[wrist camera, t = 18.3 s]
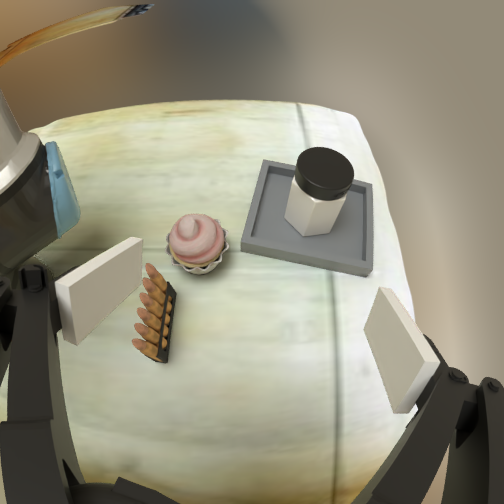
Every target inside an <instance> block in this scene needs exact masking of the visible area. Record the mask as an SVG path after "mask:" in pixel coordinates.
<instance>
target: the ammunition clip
mask: <svg viewBox="0 0 504 504" xmlns="http://www.w3.org/2000/svg"><path fill="white" fill-rule="evenodd" d="M145 267H146V271H147V274H148V275H149V277H150V279H148V278H143V285H144V287H145V289H146V290H147V292H148V295H147V294H146V293H140V299H141V301H142V303H143V304H144V306H145V307H146V309H147V310H146V309H143V308H138V309H137V313H138V315H139V317H140V318H141V319H142V320H143V321H144V323H145V324H146V325H147V326H148V327H147V326H145V325H143V324H141V323H136V324H135V325H134V327H135V329H136V331H137V332H138V333H139V334H140V335H141V336H142V337H143V338H144V339H145V340H146V341H144V340H141V339H133V340H132V343H133V345H134V346H135V347H136V348H137V349H138V350H140V351H141V352H142V353H143V354H144V355H145V356H147V357H148V358H150V359H152V360H153V361H155V362H161V363H167V362H168V353H169V345H170V336H171V328H172V321H173V313H174V306H175V299H176V292H175V290H174V289H173V287H172V286H171V285H170V283H169V282H167V283H166V281H165V280H164V278H163V276H162V275H161V274H160V273H159V272H158V271H157V270H156V268H155V267H154V266H153V265H151V264H149V263H146V266H145Z"/></svg>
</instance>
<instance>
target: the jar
mask: <svg viewBox="0 0 504 504" xmlns="http://www.w3.org/2000/svg"><path fill="white" fill-rule="evenodd" d="M353 179H354V170H353V167H352V165H351V163H350V162H349V160H348V159H347V158H346V157H345V156H343V155H342V154H340V153H339V152H337V151H335V150H332V149H329V148H324V147H313V148H309V149H307V150H305V151H303V152H302V153H301V154H300V155H299V157H298V159H297V164H296V168H295V175H294V178H293V180H292V184H291V188H290V193H289V198H288V202H287V207H286V211H285V216H284V218H285V219H286V220H287V221H288V222H289V223H290V224H291V225H292V226H293V227H294V228H295V229H296V230H297V231H298V232H299V233H300V234H301V235H302V236H304V237H305V236H312V235H320V234H328V233H330V231H331V229H332V227H333V225H334V223H335V221H336V219H337V216H338V214H339V212H340V210H341V208H342V206H343V204H344V202H345V200H346V195H347V192H348V190H349V189H350V187H351V185H352V182H353Z"/></svg>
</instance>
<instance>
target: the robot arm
mask: <svg viewBox="0 0 504 504" xmlns="http://www.w3.org/2000/svg"><path fill="white" fill-rule="evenodd" d="M79 218H80V207H79V204H78V201H77V197H76V194H75V191H74V188H73V186H72V183H71V180H70V177H69V174H68V171H67V168H66V166H65V163H64V160H63V157H62V155H61V152H60V150H59V147H58V146H57V143H56V142H54V141H52V142H48V143H46V145H45V146H44V145H43V144H42V142H41V140H40V138H39V137H38V135H37V134H35V133H29V132H22V131H21V130H20V128H19V126H18V124H17V122H16V120H15V118H14V116H13V114H12V112H11V111H10V108H9V106H8V104H7V102H6V100H5V98H4V96H3V93H2V91H1V89H0V386H1V383H2V381H3V378H4V375H5V372H6V370H7V367H8V364H9V376H8V399H7V421H2V422H1V423H0V456H1V467H2V476H3V483H4V490H5V496H6V501H7V504H179V503H177V502H176V501H174V500H172V499H170V498H168V497H166V496H164V495H163V494H161V493H159V492H157V491H156V490H153V489H150V488H147V487H144V486H141V485H139V484H136V483H133V482H131V481H128V480H126V479H123V478H121V477H118V479H117V481H116V483H115V484H110V483H86V482H85V480H84V478H83V475H82V473H81V470H80V467H79V464H78V461H77V457H76V453H75V449H74V445H73V441H72V437H71V432H70V427H69V423H68V417H67V412H66V406H65V400H64V394H63V387H62V379H61V371H60V361H59V349H58V338H57V332H58V331H59V330H60V329H61V328H62V333H63V338H64V340H66V341H68V342H70V343H72V344H75V345H78V344H79V343H80V342H81V341H82V340H83V339H84V338H85V337H86V336H87V335H88V334H89V333H90V332H91V331H92V330H93V329H94V328H95V327H96V326H97V325H99V324H100V323H101V322H102V321H103V320H104V319H105V318H106V317H107V316H108V315H109V314H110V313H111V312H112V311H113V310H114V309H115V308H116V307H117V306H118V305H119V304H120V303H121V302H122V301H124V300H125V299H126V298H127V297H128V296H129V295H130V294H131V293H132V292H133V291H134V290H135V289H136V288H137V287H138V286H140V285H141V276H142V249H143V239H141V238H136V237H130V238H128V239H126V240H124V241H122V242H121V243H119V244H117V245H115V246H114V247H112V248H110V249H108V250H107V251H105V252H103V253H101V254H100V255H98V256H96V257H95V258H93V259H91V260H90V261H88V262H86V263H85V264H83V265H80V266H77V267H73V268H72V269H70V270H68V271H67V273H66V272H65V273H64V274H62V275H61V276H59V277H57V278H55V279H54V280H53V277H52V274H51V272H50V270H49V269H48V268H47V267H46V266H45V265H44V264H43V263H42V262H41V261H40V260H38V259H37V258H35V257H32V256H33V255H35V254H36V253H37V252H39V251H40V250H42V249H43V248H45V247H46V246H47V245H49V244H50V243H52V242H53V241H55V240H56V239H60V238H61V236H62V235H63V234H64V233H65V232H67V231H68V230H69V229H71V228H72V227H74V226H75V225H76V224H77V223H78V221H79ZM364 332H365V335H366V337H367V340H368V342H369V345H370V348H371V350H372V353H373V356H374V358H375V361H376V364H377V367H378V369H379V372H380V375H381V378H382V381H383V384H384V386H385V389H386V392H387V395H388V398H389V401H390V404H391V407H392V410H393V413H409V412H410V411H411V409H412V408H413V406H414V405H415V403H416V405H417V407H418V411H417V412H416V414H415V415H414V417H413V418H412V419H411V421H410V422H409V423H408V425H407V426H406V430H405V432H404V433H403V435H402V436H401V438H400V439H399V441H398V442H397V444H396V445H395V447H394V448H393V450H392V451H391V453H390V454H389V456H388V457H387V459H386V460H385V461H384V463H383V464H382V466H381V467H380V468H379V470H378V471H377V472H376V474H375V475H374V476H373V477H372V479H371V480H370V481H369V483H368V484H367V485H366V486H365V488H364V489H363V490H362V491H361V492H360V494H359V495H358V496H357V497H356V498H355V500H354V501H353V502H352V503H351V504H421V502H422V501H423V499H424V497H425V495H426V493H427V491H428V489H429V487H430V485H431V483H432V481H433V479H434V477H435V475H436V473H437V471H438V469H439V467H440V464H441V462H442V460H443V457H444V455H445V453H446V450H447V448H448V445H449V443H450V446H449V456H448V465H447V473H446V479H445V485H444V491H443V497H442V502H441V504H504V388H503V386H502V385H501V383H500V382H499V381H498V380H496V379H493V378H490V377H485V378H484V379H483V380H482V382H481V383H480V385H479V386H477V385H473V384H470V383H469V380H468V378H467V376H466V375H465V374H464V373H463V372H462V371H460V370H458V369H456V368H452V367H448V365H447V363H446V362H445V360H444V359H443V357H442V356H441V354H440V353H439V351H438V349H437V348H436V347H435V345H434V343H433V342H432V341H431V339H429V338H428V337H427V336H426V335H424V334H422V333H421V331H420V330H419V328H418V327H417V325H416V324H415V322H414V321H413V319H412V318H411V316H410V315H409V313H408V312H407V310H406V309H405V307H404V306H403V305H402V303H401V302H400V300H399V299H398V298H397V296H396V295H395V293H394V292H393V291H392V289H389V288H384V287H379V289H378V292H377V295H376V298H375V301H374V303H373V306H372V309H371V311H370V314H369V317H368V319H367V322H366V325H365V327H364ZM9 362H10V363H9Z"/></svg>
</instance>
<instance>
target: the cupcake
mask: <svg viewBox="0 0 504 504" xmlns="http://www.w3.org/2000/svg"><path fill="white" fill-rule="evenodd" d="M227 235H228V231H227V230H225V229H223V228H221V225H220V221H219V220H217V219H212V218H211V217H208V216H206V215H205V214H204V215H202V214H188V215H185V216H183V217H181V218H180V219H179V220H178V221H177V222H176V223H175V224H174V226H173V228H172V230H171V232H170V233H169V234H168V235H167V236H166V240H167V242H168V245H167V247H166V249H165V252H166V253H167V254H168V255H170V256H171V259H172V265H175V266H181V267H183V268H184V269H185V270H186V271H188V272H190V273H192V274H199V275H201V274H206V273H208V272H210V271H212V270H213V269H214V268H215V267H216V266H217V265H218V264H219V262H221V260H222V254H223V253H224V252H225V251H226V250H227V249H228V248H229V245H228V243H227V241H226V240H225V239H226V237H227Z"/></svg>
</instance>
